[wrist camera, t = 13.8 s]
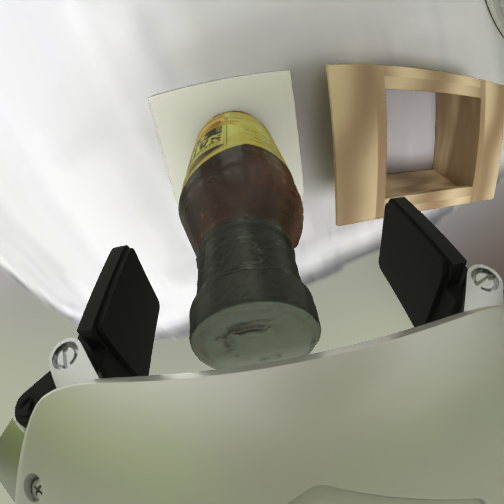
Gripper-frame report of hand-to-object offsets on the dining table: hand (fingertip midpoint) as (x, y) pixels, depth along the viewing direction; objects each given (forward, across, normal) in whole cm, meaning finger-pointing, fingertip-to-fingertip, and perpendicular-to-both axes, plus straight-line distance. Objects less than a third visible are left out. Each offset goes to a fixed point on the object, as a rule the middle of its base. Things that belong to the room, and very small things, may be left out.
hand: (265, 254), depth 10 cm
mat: (+18, +1, 0) cm, 18 cm away
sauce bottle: (+17, +1, 0) cm, 17 cm away
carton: (+18, -16, 0) cm, 24 cm away
